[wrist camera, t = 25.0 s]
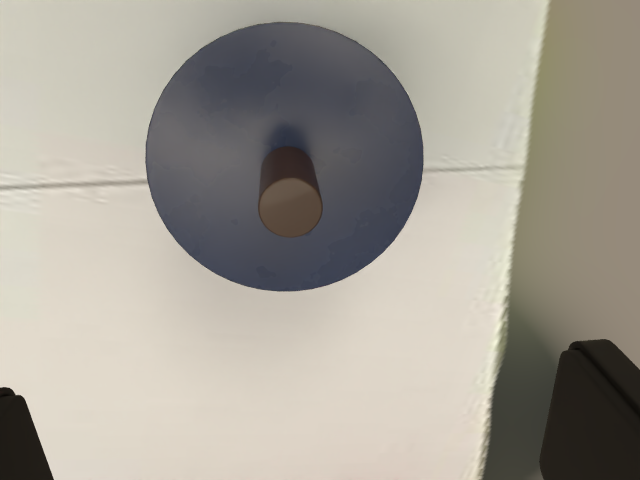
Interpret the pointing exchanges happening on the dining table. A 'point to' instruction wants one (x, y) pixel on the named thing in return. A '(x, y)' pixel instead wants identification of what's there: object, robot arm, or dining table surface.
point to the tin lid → (284, 156)
